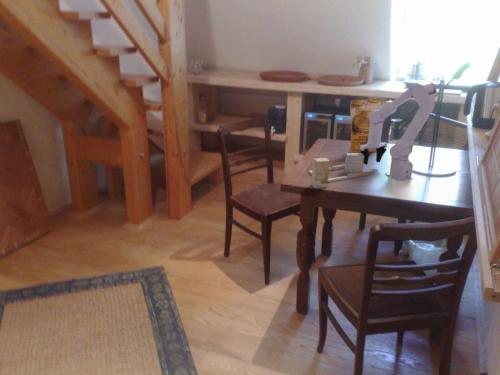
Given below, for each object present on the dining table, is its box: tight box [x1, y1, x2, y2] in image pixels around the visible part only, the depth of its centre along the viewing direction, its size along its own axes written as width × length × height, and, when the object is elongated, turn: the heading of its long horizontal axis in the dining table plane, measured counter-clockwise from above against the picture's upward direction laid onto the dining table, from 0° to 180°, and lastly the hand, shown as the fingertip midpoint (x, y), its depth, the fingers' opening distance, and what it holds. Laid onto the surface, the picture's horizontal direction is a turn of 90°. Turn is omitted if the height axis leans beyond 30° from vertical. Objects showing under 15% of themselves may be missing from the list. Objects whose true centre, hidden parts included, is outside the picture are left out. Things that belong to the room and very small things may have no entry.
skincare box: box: [310, 157, 330, 189], centre depth 190 cm, size 6×4×12 cm
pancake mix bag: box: [348, 98, 383, 153], centre depth 235 cm, size 7×19×28 cm, turn 99°
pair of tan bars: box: [331, 163, 374, 179], centre depth 209 cm, size 13×14×2 cm
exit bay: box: [308, 166, 348, 183], centre depth 204 cm, size 14×12×1 cm
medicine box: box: [344, 152, 364, 174], centre depth 208 cm, size 8×4×9 cm, turn 84°
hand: (371, 162), depth 212 cm, fingers open, 7 cm apart
